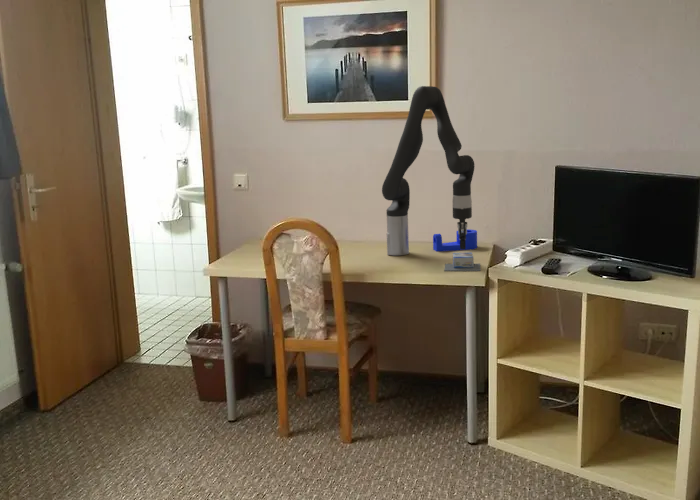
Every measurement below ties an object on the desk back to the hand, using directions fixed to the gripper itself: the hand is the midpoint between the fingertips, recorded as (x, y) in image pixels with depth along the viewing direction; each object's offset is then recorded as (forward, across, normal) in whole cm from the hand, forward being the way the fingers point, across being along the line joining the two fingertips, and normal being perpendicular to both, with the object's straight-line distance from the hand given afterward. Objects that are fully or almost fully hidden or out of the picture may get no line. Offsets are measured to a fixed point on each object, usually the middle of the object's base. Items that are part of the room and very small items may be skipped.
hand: (462, 248), depth 288 cm
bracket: (+7, -31, -3) cm, 32 cm away
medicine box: (+4, -1, 0) cm, 4 cm away
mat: (+7, +6, 0) cm, 9 cm away
